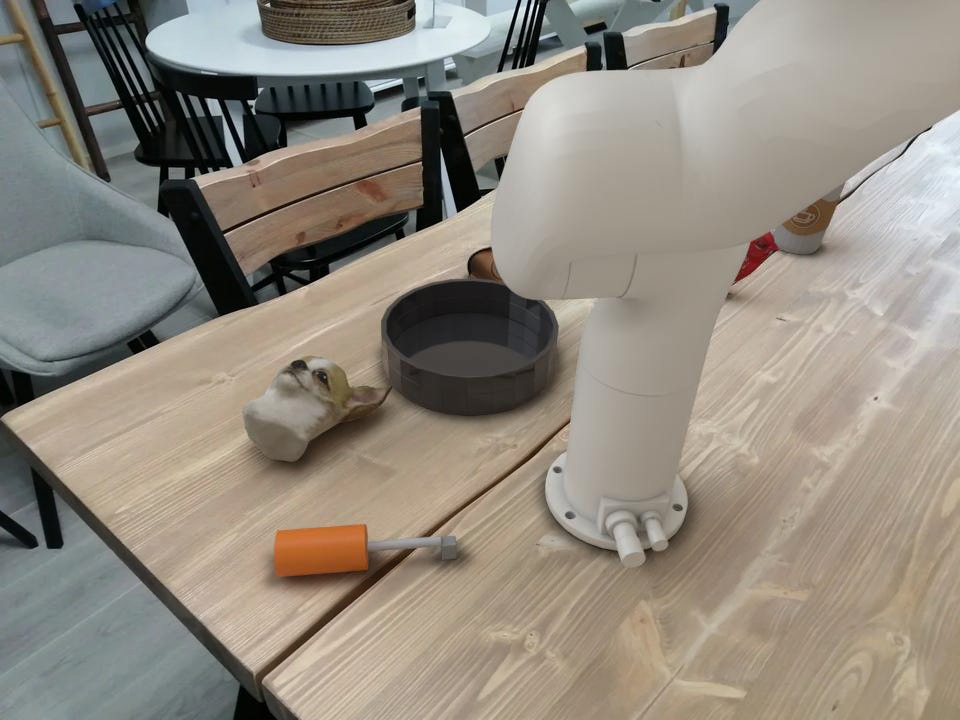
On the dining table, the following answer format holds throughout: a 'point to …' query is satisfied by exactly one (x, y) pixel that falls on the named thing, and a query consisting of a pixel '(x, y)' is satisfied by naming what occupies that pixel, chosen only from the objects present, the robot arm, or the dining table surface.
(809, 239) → the coffee cup
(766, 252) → the decorative bird figurine
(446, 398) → the bowl
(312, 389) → the ceramic sculpture
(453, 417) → the dining table surface
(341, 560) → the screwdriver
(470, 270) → the sunglasses case
